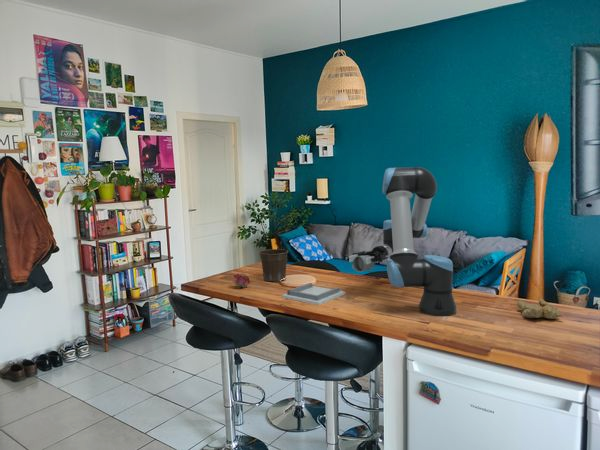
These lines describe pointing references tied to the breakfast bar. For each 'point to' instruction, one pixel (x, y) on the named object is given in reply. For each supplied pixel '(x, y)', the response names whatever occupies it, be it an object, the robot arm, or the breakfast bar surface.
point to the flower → (241, 280)
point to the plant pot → (274, 264)
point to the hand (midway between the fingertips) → (358, 260)
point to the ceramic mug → (362, 263)
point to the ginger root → (539, 310)
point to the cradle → (313, 294)
